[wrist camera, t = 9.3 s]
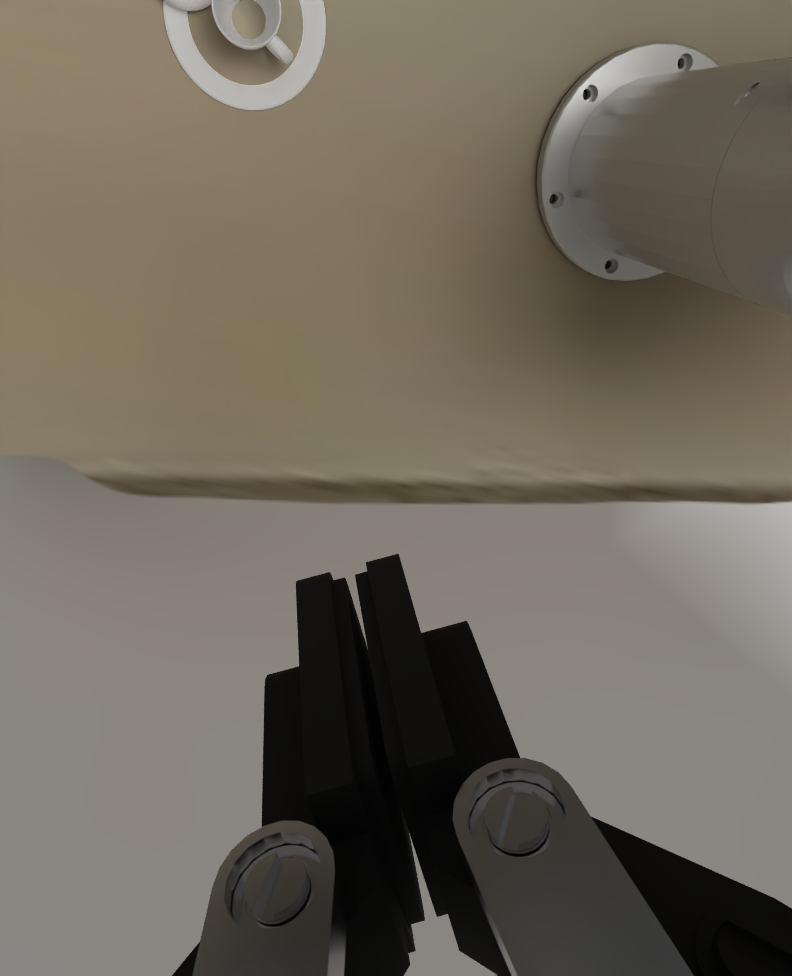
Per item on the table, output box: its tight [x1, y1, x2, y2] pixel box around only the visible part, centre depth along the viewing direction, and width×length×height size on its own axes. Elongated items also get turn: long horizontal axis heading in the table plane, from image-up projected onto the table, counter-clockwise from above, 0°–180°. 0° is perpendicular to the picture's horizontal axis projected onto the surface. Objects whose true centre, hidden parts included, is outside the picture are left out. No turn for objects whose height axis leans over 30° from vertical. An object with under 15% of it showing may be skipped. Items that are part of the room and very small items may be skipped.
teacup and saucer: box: [163, 0, 326, 110], centre depth 33 cm, size 9×8×4 cm
